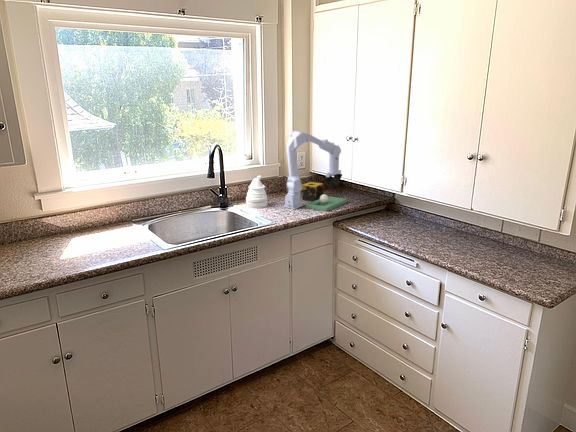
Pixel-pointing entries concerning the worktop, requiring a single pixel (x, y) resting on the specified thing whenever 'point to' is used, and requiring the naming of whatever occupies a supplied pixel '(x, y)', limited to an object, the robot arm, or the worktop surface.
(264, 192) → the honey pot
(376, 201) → the worktop surface
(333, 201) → the green mat
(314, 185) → the yellow cube with hole
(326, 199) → the ball
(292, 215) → the worktop surface
